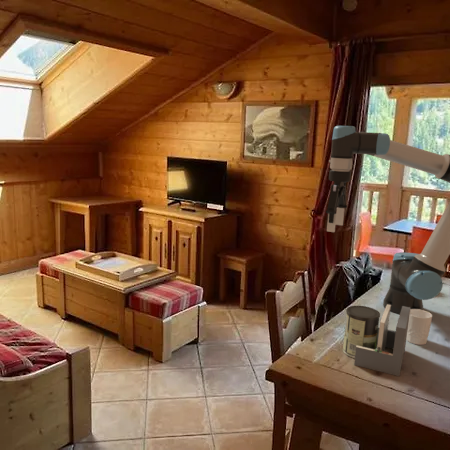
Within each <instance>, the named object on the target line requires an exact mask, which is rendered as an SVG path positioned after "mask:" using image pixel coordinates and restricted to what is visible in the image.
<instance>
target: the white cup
mask: <svg viewBox="0 0 450 450" xmlns="http://www.w3.org/2000/svg"><path fill="white" fill-rule="evenodd" d="M432 319H433V313H430V311H426V310H424V309H423V310H420V309H410V316H409V323H408V331H407V338H406V342H408V343H411V344H413V345H419V346H423V345H426V344H427V342H428V338H429V335H430V329H431V326H432Z"/></svg>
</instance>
